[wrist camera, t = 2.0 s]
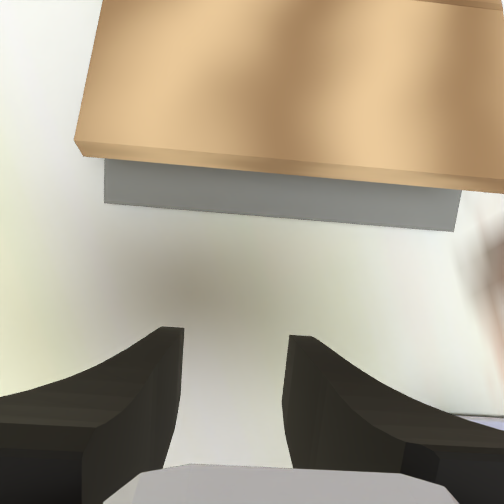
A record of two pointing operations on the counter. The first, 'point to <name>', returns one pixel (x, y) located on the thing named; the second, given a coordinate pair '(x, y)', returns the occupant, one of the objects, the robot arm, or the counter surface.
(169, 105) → the plank
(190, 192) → the underlay
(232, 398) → the counter surface
